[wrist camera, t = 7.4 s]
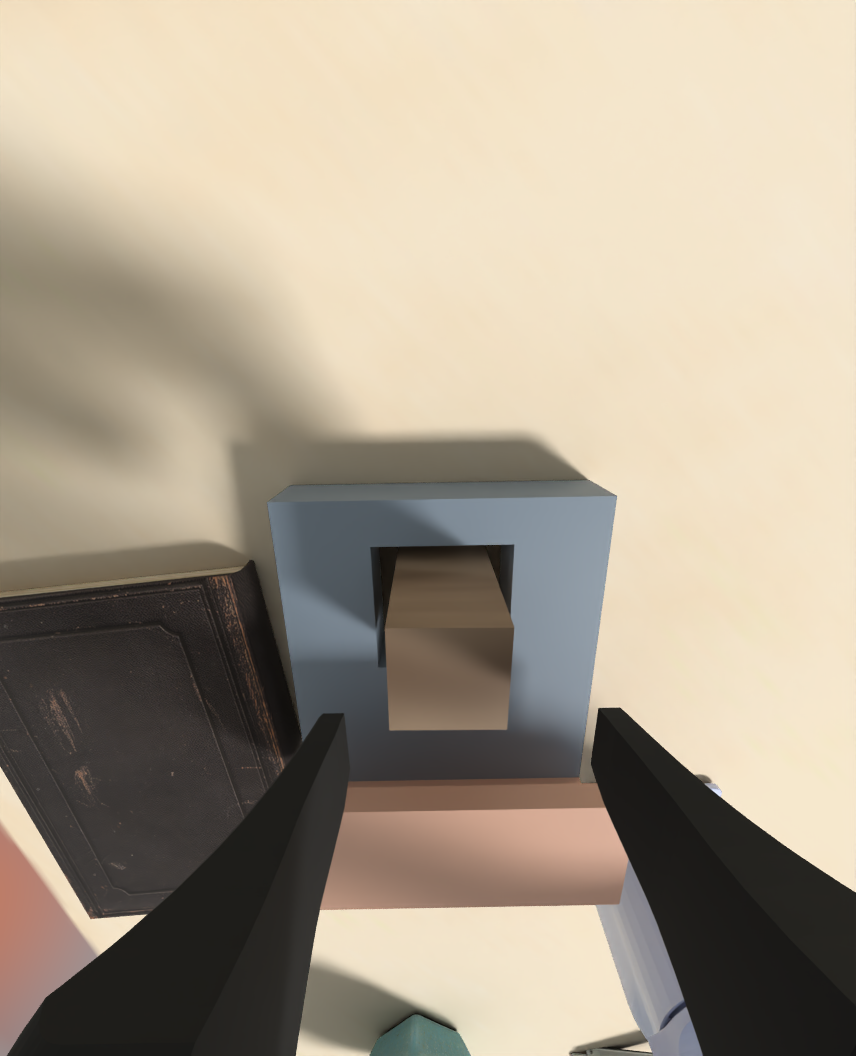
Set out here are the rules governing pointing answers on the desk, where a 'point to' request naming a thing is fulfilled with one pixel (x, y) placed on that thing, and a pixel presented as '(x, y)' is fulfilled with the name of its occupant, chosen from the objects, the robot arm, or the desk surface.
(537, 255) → the desk surface
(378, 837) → the salmon pink block
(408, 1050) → the flower pot
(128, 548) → the desk surface
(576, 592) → the socket block
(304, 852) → the robot arm
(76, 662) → the hardcover book
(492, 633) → the walnut peg
